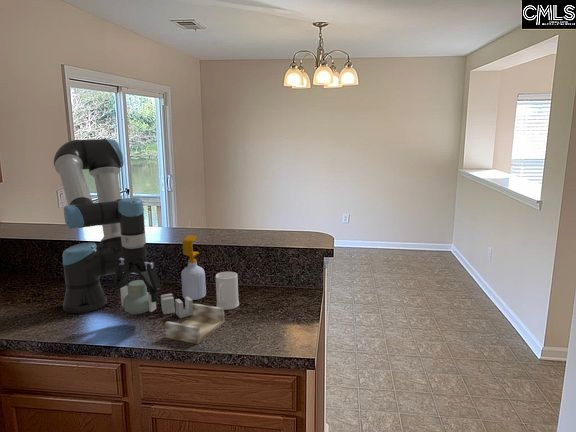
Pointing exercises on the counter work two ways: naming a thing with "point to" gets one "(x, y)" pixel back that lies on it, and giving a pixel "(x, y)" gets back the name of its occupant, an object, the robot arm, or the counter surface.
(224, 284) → the mug
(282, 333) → the counter surface
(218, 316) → the end holder
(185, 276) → the white orange spray bottle
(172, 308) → the clip
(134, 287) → the air freshener
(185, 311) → the clip
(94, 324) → the counter surface
